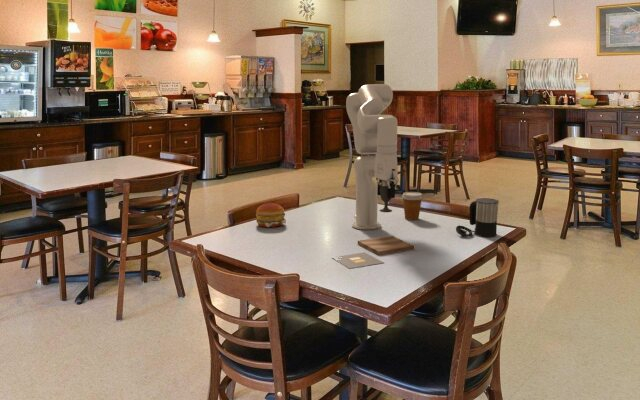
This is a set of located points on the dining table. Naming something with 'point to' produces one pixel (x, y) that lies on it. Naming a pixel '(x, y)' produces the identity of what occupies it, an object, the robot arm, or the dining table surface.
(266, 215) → the burger
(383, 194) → the sundae
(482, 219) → the milk frother
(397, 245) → the board
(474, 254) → the dining table surface
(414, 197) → the disposable coffee cup
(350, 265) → the card
